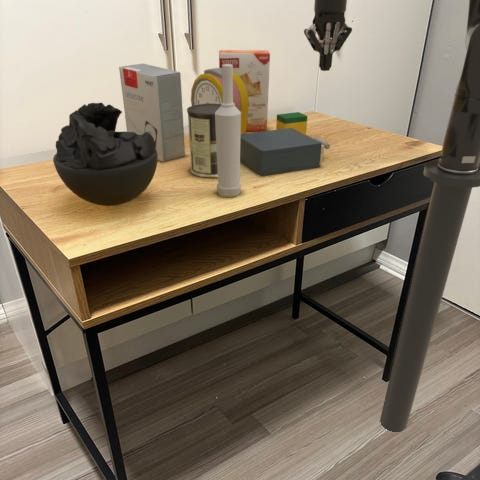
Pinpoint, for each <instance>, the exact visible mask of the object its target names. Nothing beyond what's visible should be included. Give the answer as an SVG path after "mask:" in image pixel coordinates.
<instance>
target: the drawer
mask: <svg viewBox="0 0 480 480" xmlns="http://www.w3.org/2000/svg"><path fill="white" fill-rule="evenodd" d="M313 139H315V140H317V141H319V142H321V143H322V146H321V158H320V163H323V162H324V157H325V155H324V154H325V150H329V149H330V147H331V144H330V143H328V142H326V141H324V140H323V139H321V138H318V137H314V138H313Z"/></svg>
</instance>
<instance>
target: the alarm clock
mask: <svg viewBox="0 0 480 480" xmlns="http://www.w3.org/2000/svg"><path fill="white" fill-rule="evenodd" d="M221 103H223V79H222V69H221V68H219V67H214V68H213V67H212V68H208V69H205V70H203V73H201V74H199V75H198V76H197V77H196V78H195V79H194V80H193V84H192V86H191V91H190V104H191V106H193V105H199V104H221ZM233 103H234V104H235V107H236V108H237V109H238V110H239V111H240V112H241V134H245V133H247V131H246V124H247V116H248V108H249V101H248V93H247V90H246V88H245V85H244V82H243V81H242V80H241V78H240V77H239V76H238V74H236V73H234V72H233Z"/></svg>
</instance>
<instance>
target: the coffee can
mask: <svg viewBox="0 0 480 480" xmlns="http://www.w3.org/2000/svg"><path fill="white" fill-rule="evenodd" d="M220 107H221V104H199V105H193V106H192V105H191V106H189V107H187V109H186V113H187V120H188V122H187V124H188V139H189V140H188V141H189V155H190V172H191V174H193V175H194V176H197V177H201V178H218V169H217V148H216V126H215V112H216V111H217V110H218V109H219V108H220Z"/></svg>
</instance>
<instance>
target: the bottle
mask: <svg viewBox="0 0 480 480" xmlns="http://www.w3.org/2000/svg"><path fill="white" fill-rule="evenodd" d="M222 79H223V103H221V107H220V108H219V109H218V110H217V111H216V112H215V126H216V148H217V169H218V177H217V183H216V191H217V194H218V195H219V196H220V197H222V198H223V197H224V198H234V197H237V196H239V195H240V194H241V189H242V184H241V183H240V179H241V161H240V137H241V112H240V111H239V110H238V109H237V108H236V107H235V104H234V103H233V65H231V64H224V65H222Z"/></svg>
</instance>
